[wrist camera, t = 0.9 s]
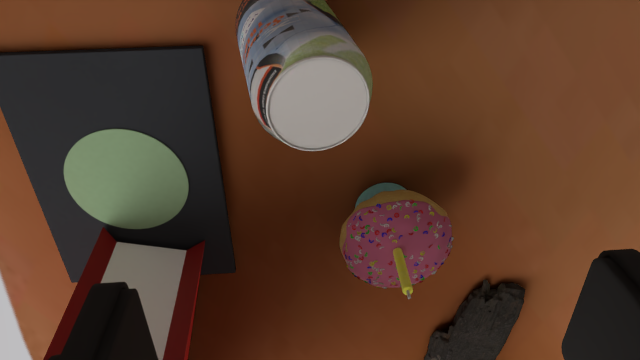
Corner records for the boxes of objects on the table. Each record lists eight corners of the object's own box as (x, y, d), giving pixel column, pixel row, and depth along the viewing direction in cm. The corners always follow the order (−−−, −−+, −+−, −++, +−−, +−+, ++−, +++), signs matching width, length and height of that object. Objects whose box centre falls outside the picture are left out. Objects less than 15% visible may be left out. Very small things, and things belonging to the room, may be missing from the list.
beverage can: (247, -39, 30) (232, 12, 20) (361, -7, 31) (401, 56, 21) (229, 58, 33) (208, 145, 23) (333, 83, 34) (356, 175, 24)
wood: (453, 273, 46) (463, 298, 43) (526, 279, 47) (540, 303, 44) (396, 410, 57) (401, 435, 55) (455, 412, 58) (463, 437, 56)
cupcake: (316, 189, 39) (330, 302, 29) (414, 144, 38) (464, 247, 28) (359, 258, 44) (384, 376, 34) (449, 220, 42) (503, 333, 32)
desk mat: (-16, 52, 31) (-22, 56, 31) (203, 45, 32) (201, 48, 32) (74, 277, 42) (71, 283, 42) (235, 268, 43) (235, 273, 43)
